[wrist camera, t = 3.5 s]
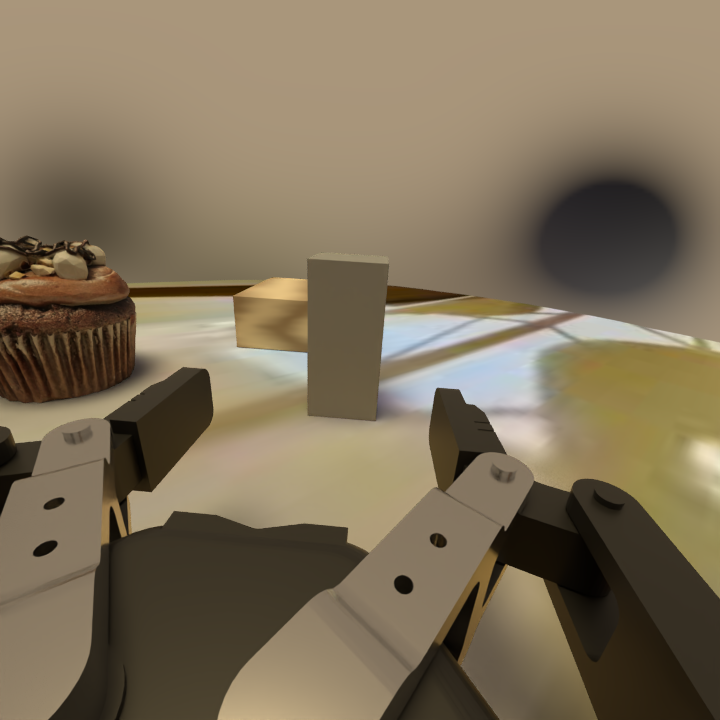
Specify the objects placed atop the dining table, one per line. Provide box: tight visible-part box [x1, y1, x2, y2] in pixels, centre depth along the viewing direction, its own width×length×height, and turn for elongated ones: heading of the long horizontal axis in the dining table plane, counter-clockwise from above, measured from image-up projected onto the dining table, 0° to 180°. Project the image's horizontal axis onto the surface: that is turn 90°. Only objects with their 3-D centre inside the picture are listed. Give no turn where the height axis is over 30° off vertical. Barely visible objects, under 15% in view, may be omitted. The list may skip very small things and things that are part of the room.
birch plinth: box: [233, 277, 308, 352], centre depth 38 cm, size 12×12×5 cm
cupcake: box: [0, 236, 136, 403], centre depth 24 cm, size 10×10×10 cm
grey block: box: [307, 252, 389, 421], centre depth 23 cm, size 4×4×10 cm
